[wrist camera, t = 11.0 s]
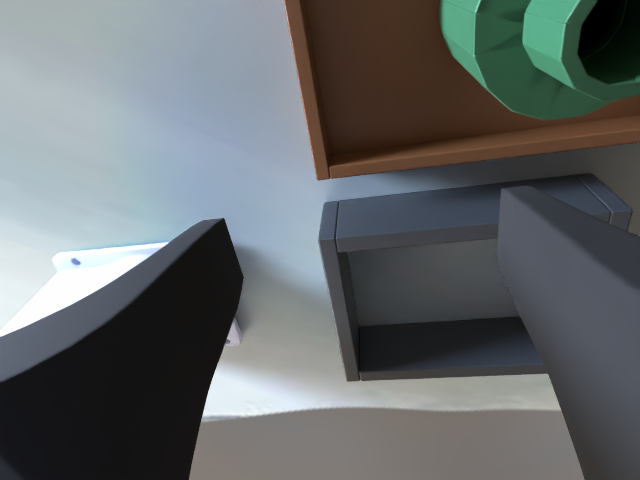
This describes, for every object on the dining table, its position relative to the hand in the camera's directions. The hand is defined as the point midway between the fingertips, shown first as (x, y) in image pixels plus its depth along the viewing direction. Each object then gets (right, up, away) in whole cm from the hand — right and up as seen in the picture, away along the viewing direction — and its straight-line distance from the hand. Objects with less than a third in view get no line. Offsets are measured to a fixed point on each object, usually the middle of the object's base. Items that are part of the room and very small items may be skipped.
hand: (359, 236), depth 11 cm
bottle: (+6, +9, +4) cm, 11 cm away
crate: (+6, -2, +12) cm, 13 cm away
